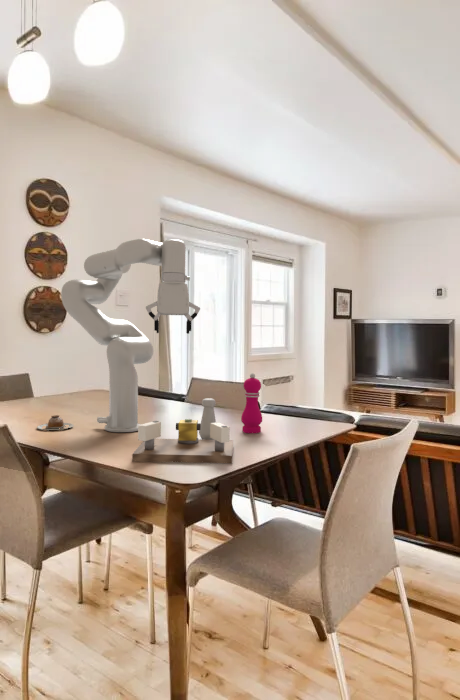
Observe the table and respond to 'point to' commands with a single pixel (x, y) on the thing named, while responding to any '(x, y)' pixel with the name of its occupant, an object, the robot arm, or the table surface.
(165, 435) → the table surface
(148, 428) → the knob left
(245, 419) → the pepper mill
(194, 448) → the level base
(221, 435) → the knob right
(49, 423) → the pastry
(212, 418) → the salt shaker
